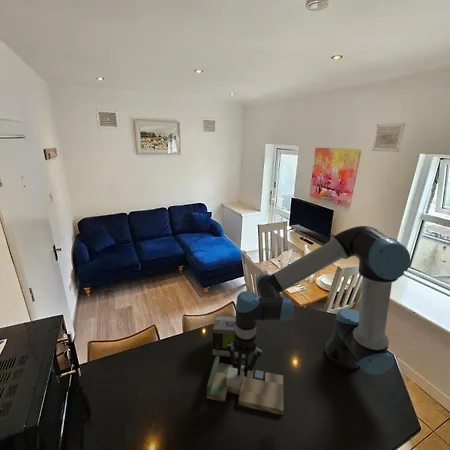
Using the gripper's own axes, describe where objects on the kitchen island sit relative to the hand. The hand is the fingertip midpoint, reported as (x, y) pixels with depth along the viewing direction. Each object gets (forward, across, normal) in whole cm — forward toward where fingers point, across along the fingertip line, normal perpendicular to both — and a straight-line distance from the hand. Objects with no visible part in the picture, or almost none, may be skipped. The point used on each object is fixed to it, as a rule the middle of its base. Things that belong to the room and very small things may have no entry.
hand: (241, 380), depth 98 cm
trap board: (+4, -2, 0) cm, 4 cm away
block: (+4, -6, -5) cm, 9 cm away
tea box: (+4, +8, -18) cm, 20 cm away
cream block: (+1, +3, 0) cm, 3 cm away
